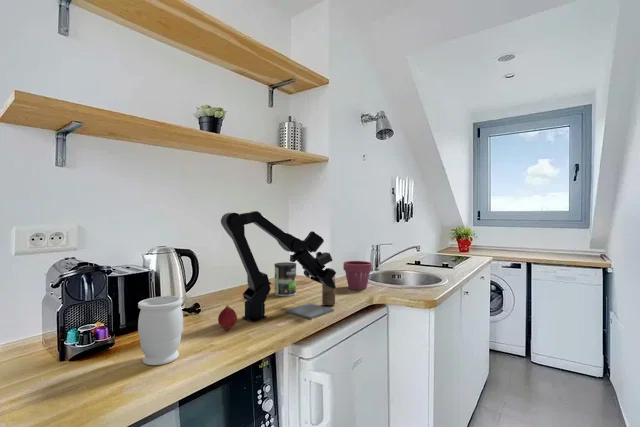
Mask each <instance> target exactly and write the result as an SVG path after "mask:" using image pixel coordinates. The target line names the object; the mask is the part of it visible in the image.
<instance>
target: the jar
mask: <svg viewBox="0 0 640 427" xmlns="http://www.w3.org/2000/svg"><path fill="white" fill-rule="evenodd" d="M183 301H184V300H183V297H181V296H178V295H177V296H175V295H174V296H173V295H165V296H155V297H151V298H150V297H148V298H146V299H143V300H140V301H139V302H138V303H137V304H138V305H137V308H138V309H140V311H139V315H138V323H137V333H138V338H139V343H140V347H141V351H142V353H143V354H144V356H143V358H142V363H143V364H145V365H148V366H161V365H165V364H166V365H167V364H168V363H171V362H174V361H175V360H176V359H178V357H179V355H180V353H179V351H178V348H179V346H180V343H181V339H182V332H183V327H184V315H183V314H184V313H183V309H182V306H181V305H182V304H183Z"/></svg>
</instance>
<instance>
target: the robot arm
mask: <svg viewBox="0 0 640 427" xmlns="http://www.w3.org/2000/svg"><path fill="white" fill-rule="evenodd" d="M220 224H221V227H223V229H224V231H225V232H226V234H227V235H228V236H229V237H230V238H231V240H232V242H233V244H234V246H235V248H236V249H235V250H236V251H237V253H238V255H239V258H240V260H241V263H242V265H243V267H244V271H245V272H246V275H247V276H246V278H247V286H248V287H247V288H246V290H245V291H244V292H243V293H242V298H243V299H244V300H246V301H244V315H243V316H241V318H242V320H243V319H244V320H245V321H246V320H247V321H249V322H252V323H253V322H257V321H259V320H263V319H265V318H267V317H268V315H265V314H266V313H265V312H266V305H265V304H266V300H267V298H268V295H269V294H270V292H271V290H272V287H271V285H272V282H270V280H269V276H268V274H267V273H264V272H262V271H260V269H259V266H258V264H257V262H256V260H255V257H254V255H253V254H254V253H252V250H251V248H250V245H249V243H248V240H247V238H246V232H245V226H246V225H250V224H254V225H256V226H257V227H258V228H259V229H261V230H262V231H264V232H265V233H267V234H268V235H269V236H271V237H272V238H274V240H276V242H277V243H278V245H279V246H280V247H281V248H282V249H283V250H284V251H286V252H290V253H293V254H289V262H290V263H296V261H297V263H299V264H300V266H301V268H302V270H303V275H304V276H305V278H307V279H310V280H312V281H314V282H317V283H320V284H324V285H326V286H329V287H331V288H333V289H335V290H336V287H337V286H336V283H335V284H334V282H333V279H332V278H333V277H334V276H336V274H337V271H336V270H334V269H333V268H330V267H326V264H329V263H331V262H333V257H332V256H331V253H330V252H322V251H318V250H319V248H321V247H322V245H323V244H324V242H325V241H324V238H323V237H322V236H320V235H319V234H317V233H316V232H315V231H309V233H308V235H307V236H306V237H305V239H301V238H299V237H297V236H296V235H292V234H291V233H288V232H285V231H284V230H282V228H280V227H279V226H277V225H276V224H275V223H273V222H272V221H271V220H269V219H268V218H267V217H266V216H264V215H263V214H262V213H261V212H260V211H258V210H257V211H256V210H252V211H249V212H243V213H237V212H227V213H224V214H223V215H222V216H221V219H220ZM317 251H318V252H317ZM312 253H315V254H316V255H315V256H316V257H315V256H313V255H312ZM325 267H326V268H325Z"/></svg>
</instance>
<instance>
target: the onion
mask: <svg viewBox="0 0 640 427" xmlns="http://www.w3.org/2000/svg"><path fill="white" fill-rule="evenodd" d="M217 320H218V322H217V323H218V324H219V325H220V327H221V328H223V329H224V330H225V331H229V330H230V329H231V328H233V327H235V325H236V324H237V322H238V321H237V320H238V314H237V313H236V311H235V309H233V308H231V307H230V306H229V305H228V304H226V305H225V308H223V309H222V310H221V311H220V313H219V314H218V318H217Z"/></svg>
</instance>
